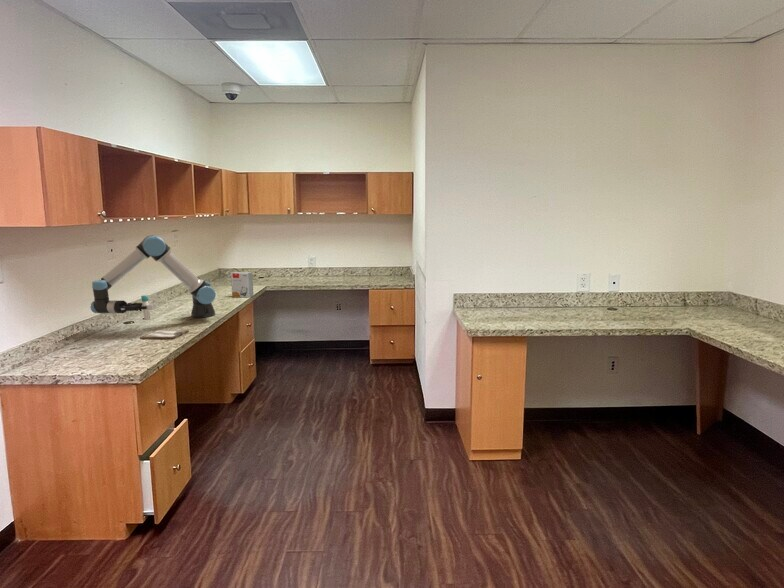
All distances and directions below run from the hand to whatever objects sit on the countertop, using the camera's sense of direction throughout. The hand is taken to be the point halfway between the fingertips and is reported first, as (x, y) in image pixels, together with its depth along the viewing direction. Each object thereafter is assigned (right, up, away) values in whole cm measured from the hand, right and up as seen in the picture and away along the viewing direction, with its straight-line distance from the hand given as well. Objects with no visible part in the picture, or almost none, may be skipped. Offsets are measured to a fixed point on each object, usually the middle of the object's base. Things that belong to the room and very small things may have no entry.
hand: (154, 306), depth 291 cm
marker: (-5, -7, +2) cm, 9 cm away
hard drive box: (+17, +5, +116) cm, 117 cm away
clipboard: (+8, -16, -4) cm, 19 cm away
